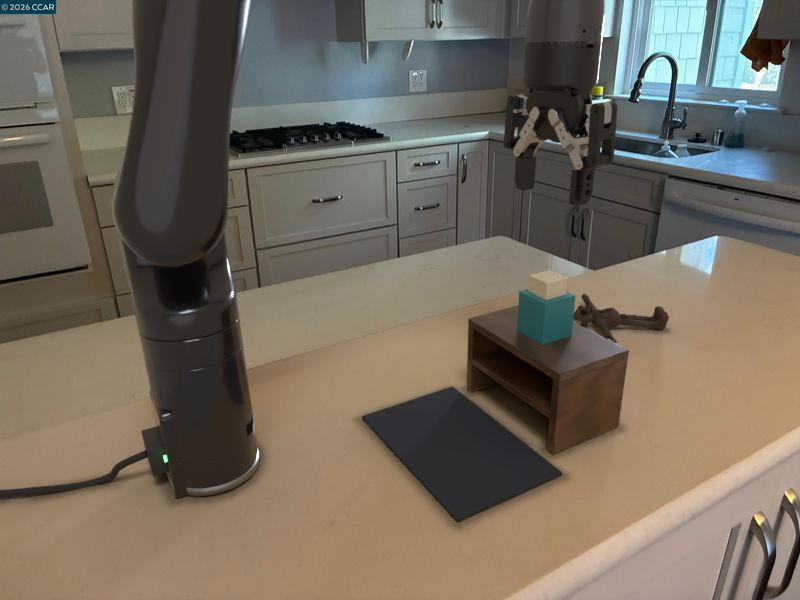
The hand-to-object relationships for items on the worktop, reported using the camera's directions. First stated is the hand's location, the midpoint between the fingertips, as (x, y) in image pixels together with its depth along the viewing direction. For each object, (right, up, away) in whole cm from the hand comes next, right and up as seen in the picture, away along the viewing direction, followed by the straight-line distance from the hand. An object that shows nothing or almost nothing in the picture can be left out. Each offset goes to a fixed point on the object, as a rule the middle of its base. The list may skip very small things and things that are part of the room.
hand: (550, 196), depth 68 cm
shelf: (0, -25, +6) cm, 25 cm away
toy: (0, -15, +3) cm, 16 cm away
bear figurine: (+16, -16, +27) cm, 35 cm away
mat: (-11, -28, 0) cm, 30 cm away
